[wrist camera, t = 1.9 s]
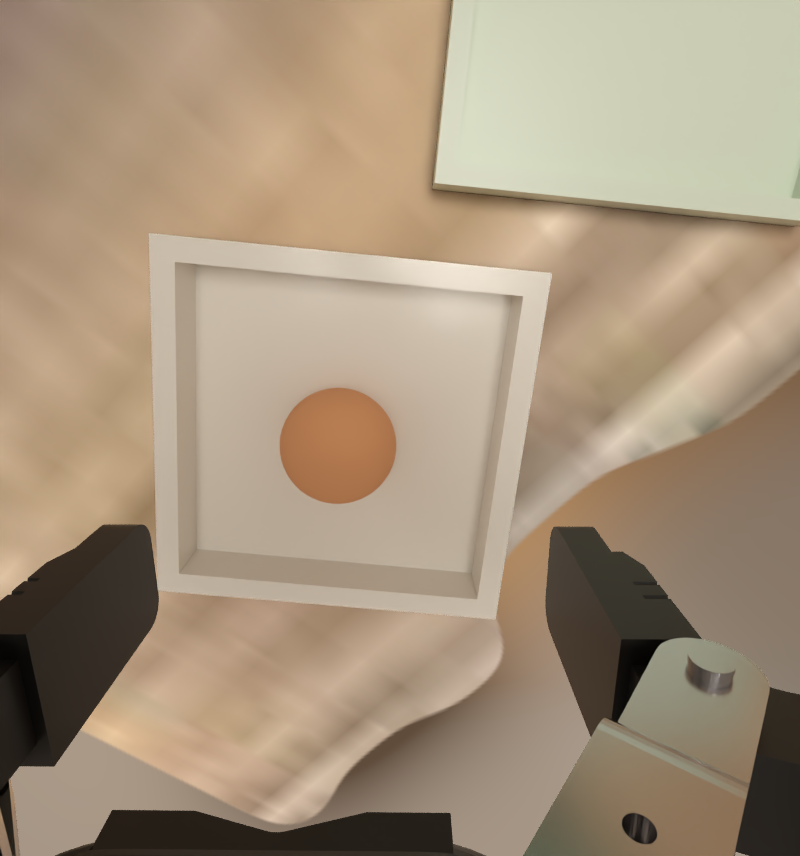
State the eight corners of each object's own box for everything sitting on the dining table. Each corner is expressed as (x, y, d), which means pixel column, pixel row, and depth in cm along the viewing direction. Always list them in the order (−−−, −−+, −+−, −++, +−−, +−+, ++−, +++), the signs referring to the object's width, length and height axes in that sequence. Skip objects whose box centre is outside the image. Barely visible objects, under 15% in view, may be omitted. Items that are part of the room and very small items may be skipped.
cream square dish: (181, 559, 30) (157, 590, 27) (177, 236, 25) (148, 233, 22) (486, 585, 30) (495, 619, 27) (535, 272, 26) (552, 273, 23)
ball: (289, 473, 28) (265, 518, 23) (293, 372, 26) (269, 397, 22) (391, 483, 28) (389, 529, 23) (401, 382, 26) (401, 409, 22)
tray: (432, 189, 25) (434, 182, 23) (474, -222, 21) (481, -271, 19) (793, 226, 25) (826, 223, 23) (901, -170, 21) (950, -214, 19)
